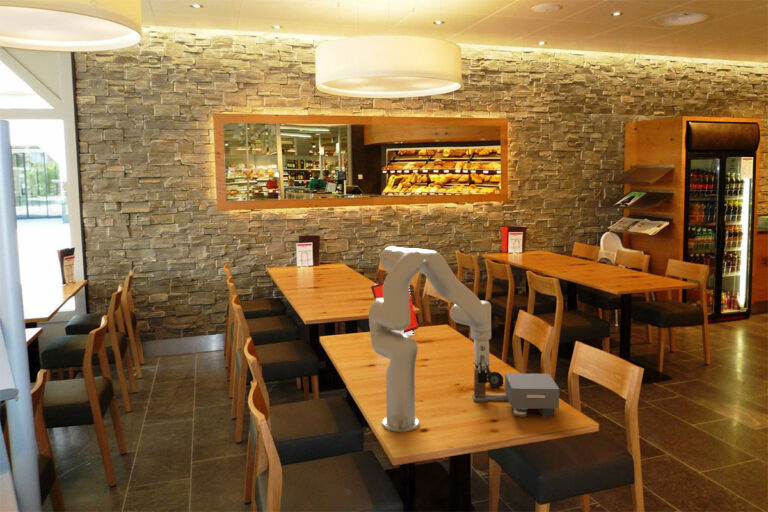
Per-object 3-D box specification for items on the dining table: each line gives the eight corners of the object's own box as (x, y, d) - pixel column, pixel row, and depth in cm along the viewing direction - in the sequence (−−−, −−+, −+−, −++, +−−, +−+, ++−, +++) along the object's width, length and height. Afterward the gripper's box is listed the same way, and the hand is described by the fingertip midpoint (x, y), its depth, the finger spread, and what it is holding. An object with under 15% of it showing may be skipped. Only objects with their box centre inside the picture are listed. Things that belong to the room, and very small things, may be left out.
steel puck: (529, 417, 207) (529, 411, 207) (514, 417, 207) (514, 411, 207) (526, 411, 212) (526, 406, 212) (512, 411, 212) (512, 406, 212)
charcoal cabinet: (558, 420, 203) (559, 389, 202) (511, 420, 204) (512, 389, 203) (548, 402, 220) (549, 373, 218) (504, 401, 221) (505, 373, 219)
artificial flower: (483, 392, 235) (476, 368, 235) (477, 379, 258) (471, 357, 258) (505, 386, 235) (498, 361, 235) (497, 374, 257) (491, 352, 257)
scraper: (529, 402, 220) (529, 371, 219) (473, 401, 221) (473, 370, 220) (527, 398, 224) (527, 367, 223) (472, 397, 225) (472, 367, 224)
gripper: (494, 340, 211) (494, 386, 214) (488, 327, 228) (488, 370, 231) (472, 340, 212) (473, 386, 214) (468, 327, 229) (469, 370, 231)
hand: (481, 378), depth 222 cm, fingers open, 9 cm apart
